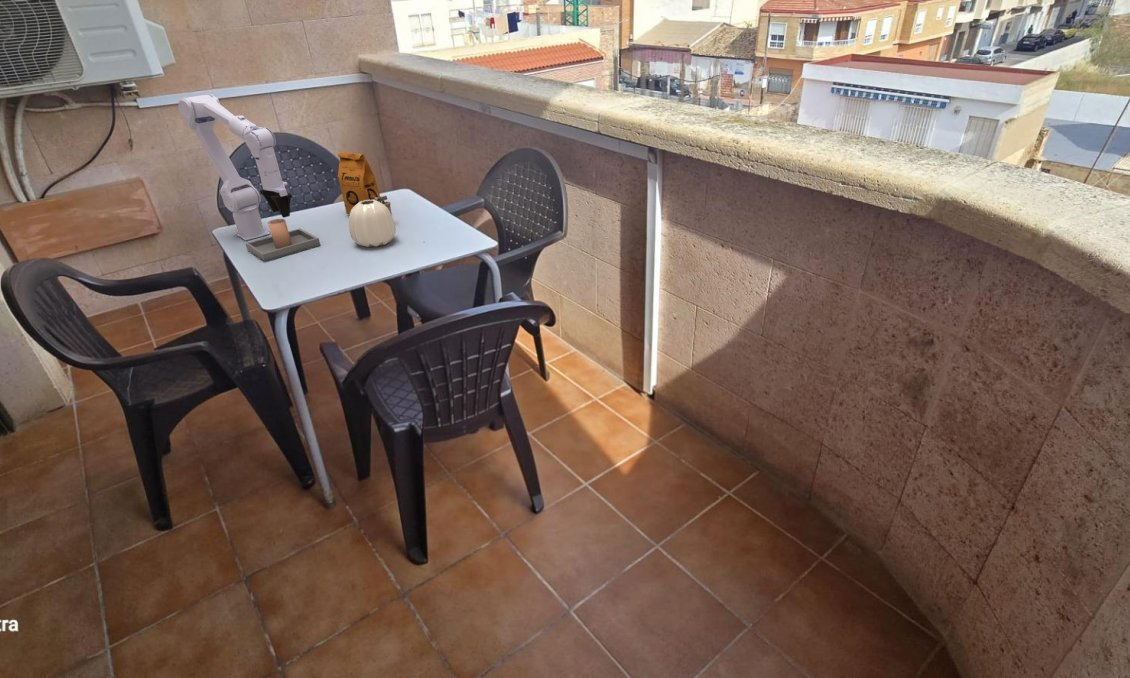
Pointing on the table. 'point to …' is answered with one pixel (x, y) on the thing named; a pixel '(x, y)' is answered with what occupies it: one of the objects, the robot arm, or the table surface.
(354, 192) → the coffee package
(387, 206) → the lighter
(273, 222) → the cup
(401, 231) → the table surface
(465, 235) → the table surface
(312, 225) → the table surface
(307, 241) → the tray
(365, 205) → the vase
